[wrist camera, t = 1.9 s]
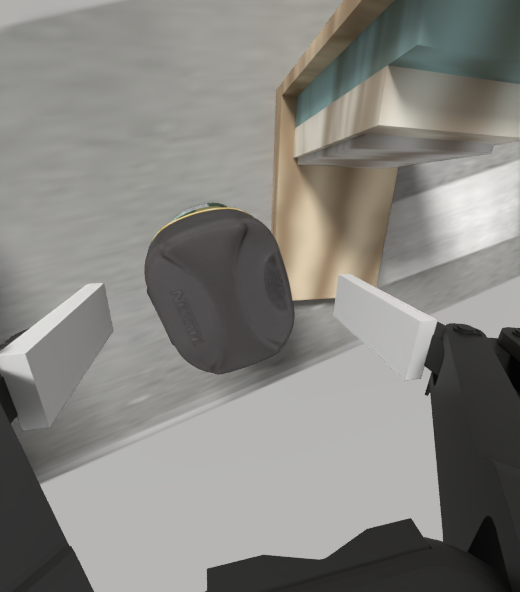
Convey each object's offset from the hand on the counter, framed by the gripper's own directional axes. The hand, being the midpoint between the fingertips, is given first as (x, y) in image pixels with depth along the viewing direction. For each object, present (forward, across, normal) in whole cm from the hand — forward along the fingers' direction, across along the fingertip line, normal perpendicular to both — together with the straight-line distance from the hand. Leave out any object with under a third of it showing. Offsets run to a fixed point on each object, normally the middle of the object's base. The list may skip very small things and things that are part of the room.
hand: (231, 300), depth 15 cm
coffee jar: (+17, 0, 0) cm, 17 cm away
